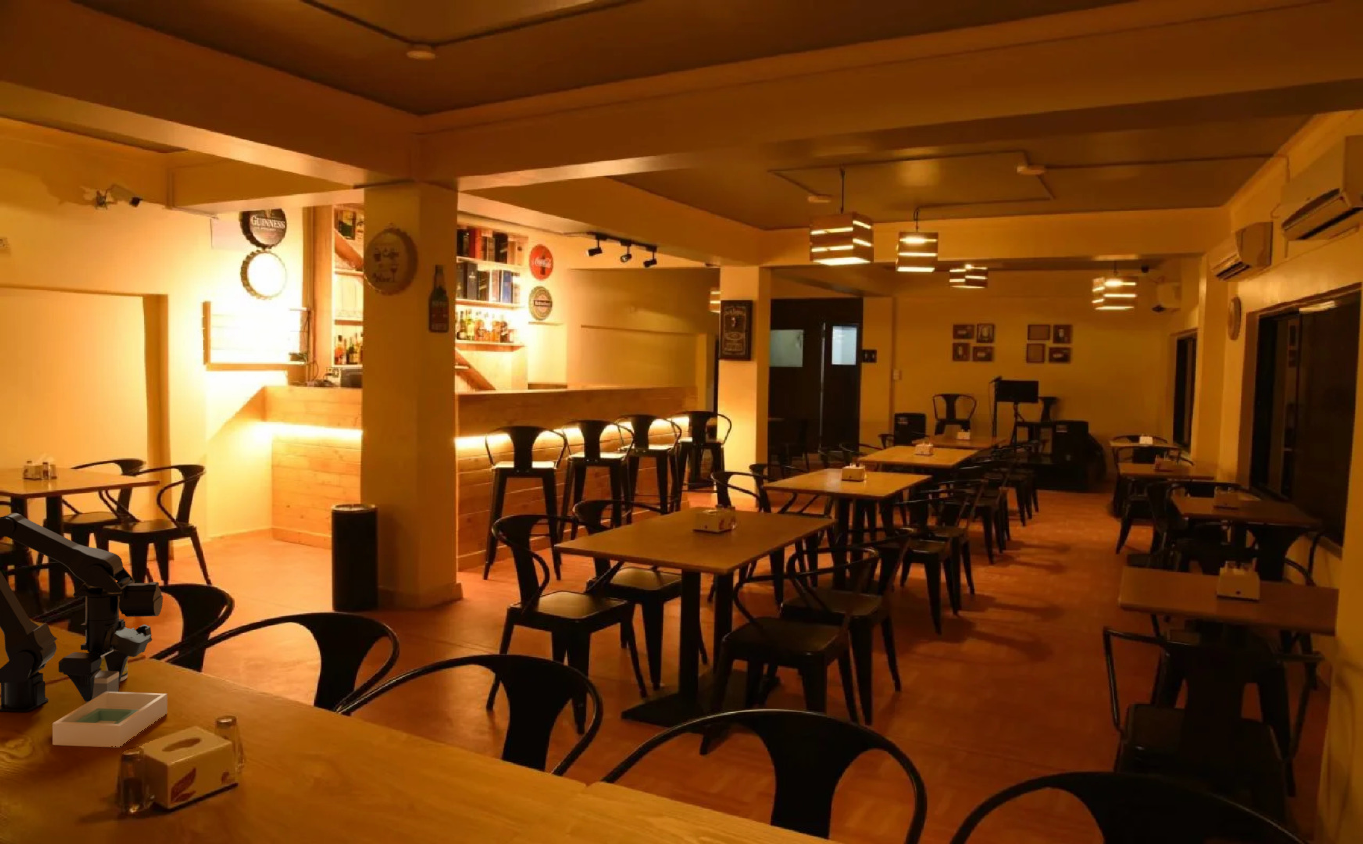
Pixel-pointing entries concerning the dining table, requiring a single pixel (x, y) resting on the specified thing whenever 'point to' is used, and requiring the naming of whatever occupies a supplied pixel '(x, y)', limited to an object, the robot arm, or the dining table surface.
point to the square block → (105, 682)
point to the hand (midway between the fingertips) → (102, 693)
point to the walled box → (109, 719)
